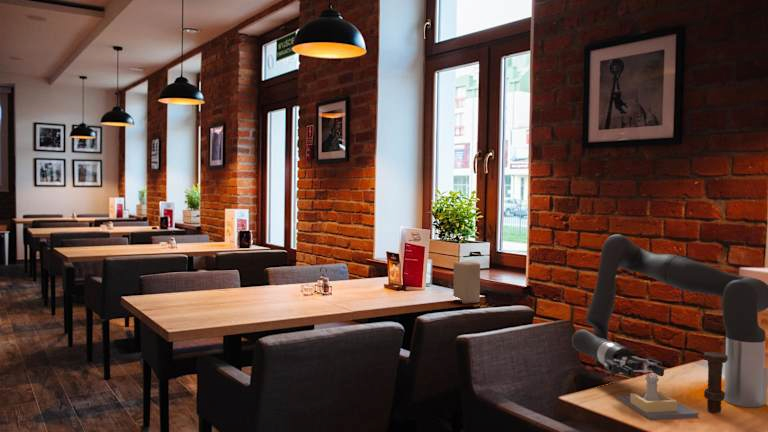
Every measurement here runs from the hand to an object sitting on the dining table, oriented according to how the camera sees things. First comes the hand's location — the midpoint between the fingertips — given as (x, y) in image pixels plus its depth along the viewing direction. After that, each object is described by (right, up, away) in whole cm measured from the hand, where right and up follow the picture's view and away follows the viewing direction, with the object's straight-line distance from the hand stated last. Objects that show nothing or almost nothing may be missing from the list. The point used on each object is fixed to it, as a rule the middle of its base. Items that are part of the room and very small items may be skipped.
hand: (647, 373), depth 169 cm
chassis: (+2, -9, -1) cm, 9 cm away
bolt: (+16, -9, -3) cm, 19 cm away
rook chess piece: (0, -8, -2) cm, 8 cm away
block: (-27, -3, +158) cm, 161 cm away
